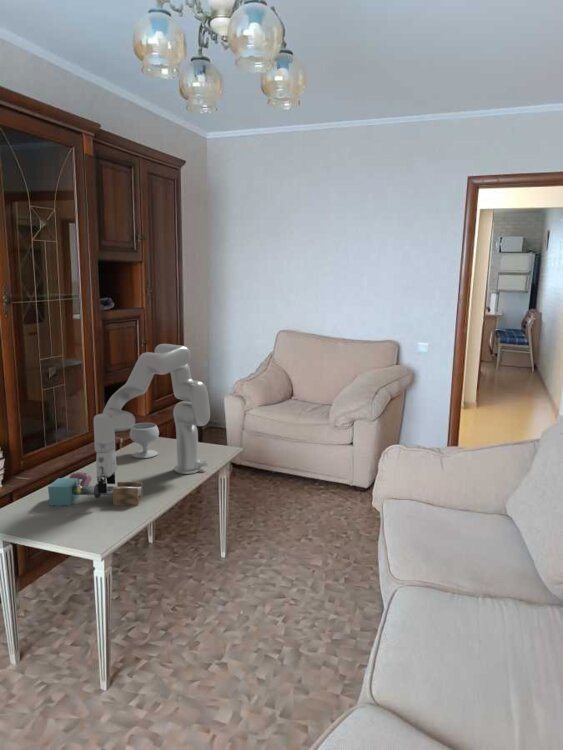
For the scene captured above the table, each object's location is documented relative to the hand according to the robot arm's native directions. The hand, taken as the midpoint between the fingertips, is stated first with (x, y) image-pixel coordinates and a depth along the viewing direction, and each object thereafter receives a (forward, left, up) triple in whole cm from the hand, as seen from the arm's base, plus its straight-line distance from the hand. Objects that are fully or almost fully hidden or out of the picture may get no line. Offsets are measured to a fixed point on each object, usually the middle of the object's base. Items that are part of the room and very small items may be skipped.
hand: (106, 488), depth 211 cm
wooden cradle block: (-8, 0, -6) cm, 10 cm away
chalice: (0, -56, -6) cm, 57 cm away
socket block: (+17, 0, -6) cm, 18 cm away
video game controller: (+17, -16, -6) cm, 24 cm away
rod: (-1, 0, -4) cm, 4 cm away
